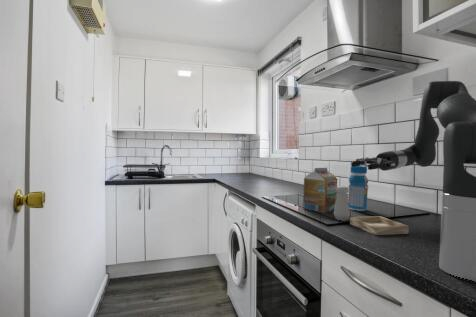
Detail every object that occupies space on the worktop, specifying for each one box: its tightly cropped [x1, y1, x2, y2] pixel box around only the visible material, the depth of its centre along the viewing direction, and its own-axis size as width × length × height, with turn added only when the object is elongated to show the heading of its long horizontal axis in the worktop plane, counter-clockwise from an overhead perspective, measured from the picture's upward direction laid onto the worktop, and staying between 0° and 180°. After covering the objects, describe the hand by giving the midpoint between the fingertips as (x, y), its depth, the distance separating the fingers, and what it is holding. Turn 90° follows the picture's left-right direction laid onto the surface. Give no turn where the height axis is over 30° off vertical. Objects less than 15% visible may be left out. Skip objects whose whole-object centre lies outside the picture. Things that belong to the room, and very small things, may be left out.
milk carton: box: [302, 167, 338, 214], centre depth 117 cm, size 11×10×19 cm
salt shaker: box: [333, 185, 351, 222], centre depth 99 cm, size 6×6×13 cm
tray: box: [349, 215, 410, 236], centre depth 88 cm, size 13×13×2 cm
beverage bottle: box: [347, 166, 369, 212], centre depth 118 cm, size 8×8×20 cm
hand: (360, 165), depth 100 cm, fingers open, 8 cm apart
